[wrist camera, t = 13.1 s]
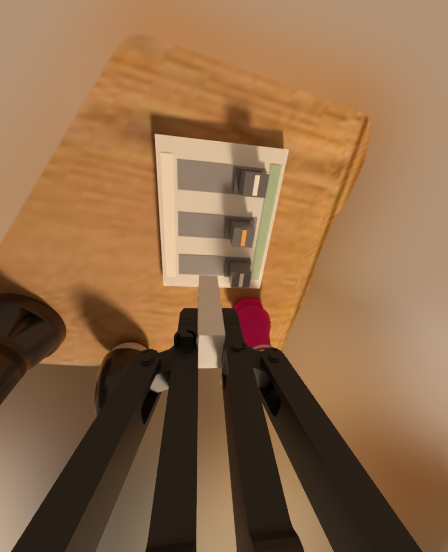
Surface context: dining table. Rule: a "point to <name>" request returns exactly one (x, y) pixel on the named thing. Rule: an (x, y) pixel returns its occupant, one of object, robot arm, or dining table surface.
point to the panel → (211, 206)
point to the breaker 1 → (250, 182)
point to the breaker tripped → (240, 232)
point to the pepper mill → (254, 323)
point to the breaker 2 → (238, 272)
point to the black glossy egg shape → (113, 371)
